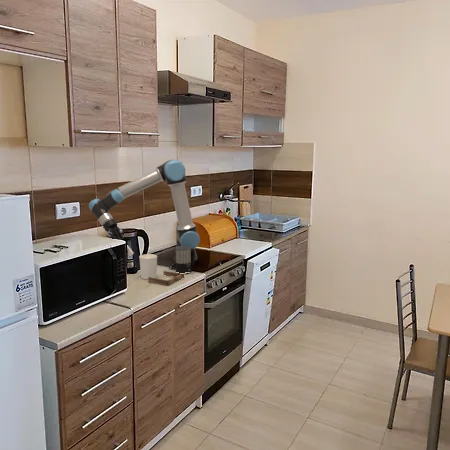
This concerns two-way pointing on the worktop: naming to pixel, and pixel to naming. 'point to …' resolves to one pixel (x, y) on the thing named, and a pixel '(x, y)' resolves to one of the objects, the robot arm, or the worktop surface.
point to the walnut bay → (167, 282)
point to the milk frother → (183, 259)
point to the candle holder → (148, 266)
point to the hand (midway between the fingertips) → (131, 254)
